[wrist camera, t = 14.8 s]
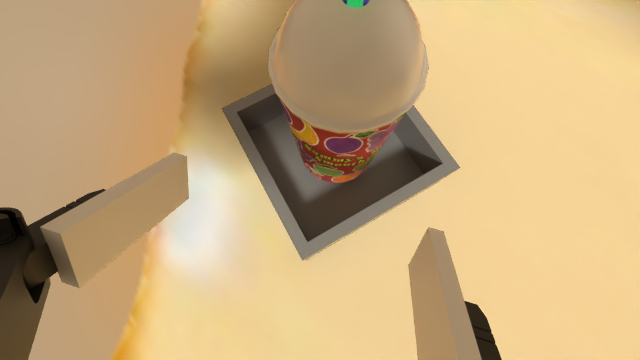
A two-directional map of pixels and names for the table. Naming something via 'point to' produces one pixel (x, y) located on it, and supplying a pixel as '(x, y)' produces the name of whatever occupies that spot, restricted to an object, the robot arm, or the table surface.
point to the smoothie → (346, 78)
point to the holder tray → (325, 197)
